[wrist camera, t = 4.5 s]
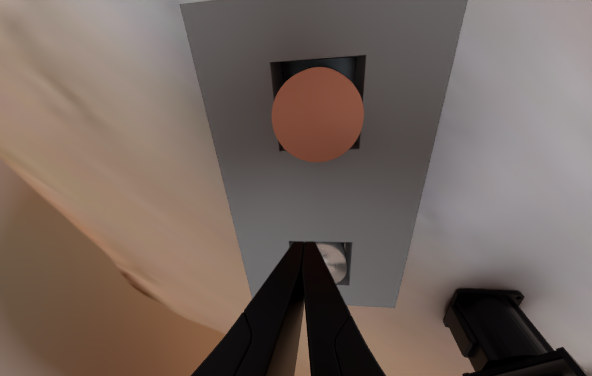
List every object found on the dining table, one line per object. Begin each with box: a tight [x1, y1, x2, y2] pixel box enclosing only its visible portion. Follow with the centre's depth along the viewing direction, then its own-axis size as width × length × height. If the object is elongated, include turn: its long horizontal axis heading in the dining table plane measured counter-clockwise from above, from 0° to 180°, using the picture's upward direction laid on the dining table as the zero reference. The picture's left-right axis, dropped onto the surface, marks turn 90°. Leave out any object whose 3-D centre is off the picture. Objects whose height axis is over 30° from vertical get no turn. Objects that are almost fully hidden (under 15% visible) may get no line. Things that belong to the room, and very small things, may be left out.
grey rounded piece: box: [303, 241, 347, 283], centre depth 21 cm, size 4×4×4 cm
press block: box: [180, 0, 468, 308], centre depth 18 cm, size 14×24×4 cm, turn 4°
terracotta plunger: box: [272, 67, 364, 162], centre depth 13 cm, size 4×4×4 cm
